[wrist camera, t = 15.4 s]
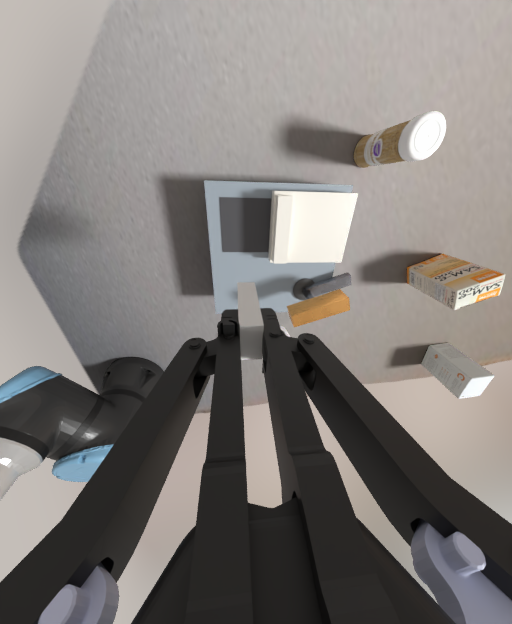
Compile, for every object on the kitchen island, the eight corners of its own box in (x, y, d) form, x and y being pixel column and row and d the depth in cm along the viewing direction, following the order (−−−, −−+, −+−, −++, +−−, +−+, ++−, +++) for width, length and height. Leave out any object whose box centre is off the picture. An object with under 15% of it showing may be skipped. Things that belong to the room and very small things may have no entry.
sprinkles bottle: (350, 144, 35) (406, 124, 23) (376, 129, 34) (448, 100, 23) (355, 173, 37) (409, 167, 26) (380, 159, 36) (448, 147, 25)
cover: (268, 258, 35) (272, 266, 32) (272, 190, 30) (277, 191, 26) (335, 258, 36) (346, 266, 33) (350, 192, 31) (365, 193, 27)
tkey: (281, 293, 38) (291, 316, 32) (347, 271, 37) (372, 290, 31) (283, 303, 40) (294, 327, 33) (347, 282, 38) (372, 303, 32)
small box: (439, 361, 66) (480, 396, 55) (420, 363, 66) (457, 399, 55) (449, 341, 62) (496, 375, 51) (428, 344, 62) (471, 379, 51)
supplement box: (442, 252, 47) (508, 272, 36) (440, 270, 49) (501, 295, 38) (405, 266, 48) (458, 290, 37) (405, 284, 50) (454, 311, 39)
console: (218, 295, 47) (215, 314, 40) (209, 181, 36) (203, 180, 29) (311, 293, 49) (325, 311, 42) (331, 185, 38) (354, 185, 31)
